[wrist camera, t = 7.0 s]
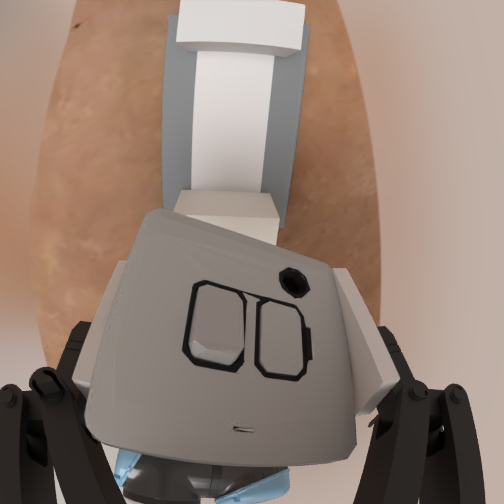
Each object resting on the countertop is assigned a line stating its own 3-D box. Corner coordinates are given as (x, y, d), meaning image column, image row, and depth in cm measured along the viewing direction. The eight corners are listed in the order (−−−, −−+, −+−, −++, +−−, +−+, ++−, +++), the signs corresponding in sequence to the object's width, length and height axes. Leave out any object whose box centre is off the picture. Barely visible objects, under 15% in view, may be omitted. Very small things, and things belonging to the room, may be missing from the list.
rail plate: (281, 223, 33) (295, 258, 27) (165, 219, 31) (152, 254, 25) (306, 26, 21) (331, 10, 15) (171, 17, 20) (154, -3, 14)
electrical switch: (335, 262, 14) (391, 442, 7) (287, 322, 17) (307, 474, 10) (151, 199, 12) (69, 415, 5) (132, 280, 15) (87, 450, 7)
